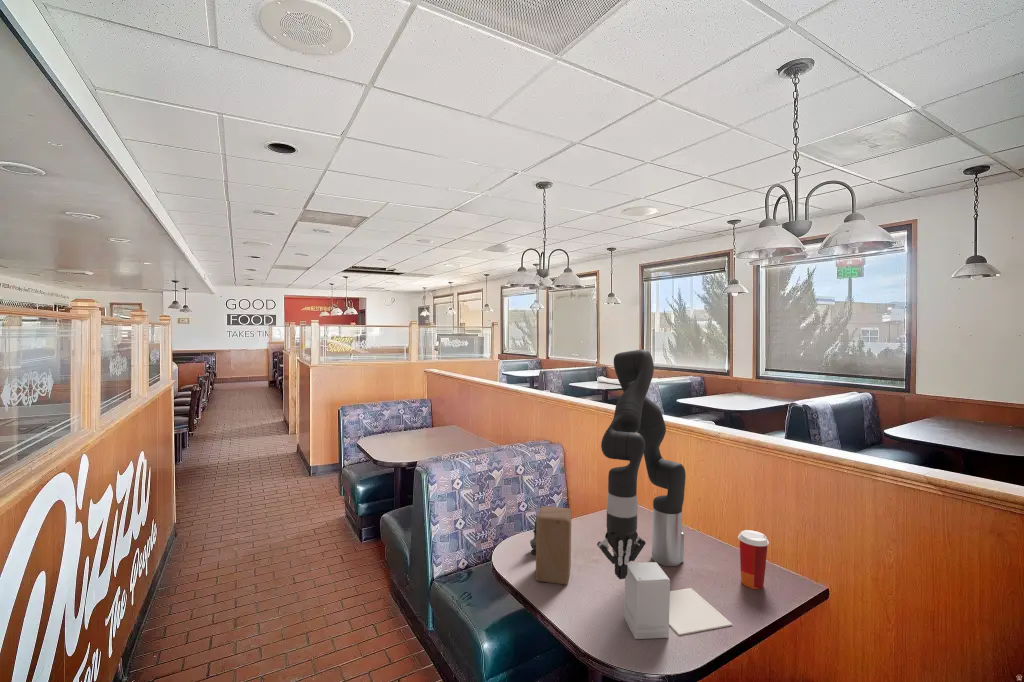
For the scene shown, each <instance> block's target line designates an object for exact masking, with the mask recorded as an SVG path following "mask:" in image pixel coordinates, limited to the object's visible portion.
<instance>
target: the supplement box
mask: <svg viewBox="0 0 1024 682" xmlns="http://www.w3.org/2000/svg"><path fill="white" fill-rule="evenodd" d="M670 591H671V579H670V578H669V577H668V575H667V574H666V573H665V571H664V570H663V568H661V566H660V564H658V563H657V562H655V561H652V562H651V561H649V562H629V563H628V569H627V576H626V578H625V579H624V606H623V607H624V608H623V609H624V611H623V612H624V613H623V618H624V620H625V622H626V625H627V626H628V628H629V630H630V631H631V634H632V636H633V637H634V640H642V639H644V640H645V639H646V640H648V639H668V638H670V625H669V607H670Z"/></svg>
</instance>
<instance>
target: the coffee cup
mask: <svg viewBox="0 0 1024 682" xmlns="http://www.w3.org/2000/svg"><path fill="white" fill-rule="evenodd" d="M737 539H738V540H739V560H740V561H739V563H740V581H741V584H742V585H743V586H745V587H746V588H749V589H752V590H762V589H763V588H764V585H765V575H766V567H767V553H768V546H769V544H770V542H769V540H768V538H767V536H766V535H765V534H764V533H762V532H759V531H756V530H751V529H749V530H748V529H745V530H741V531H740V532H739V534H738V536H737Z"/></svg>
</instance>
